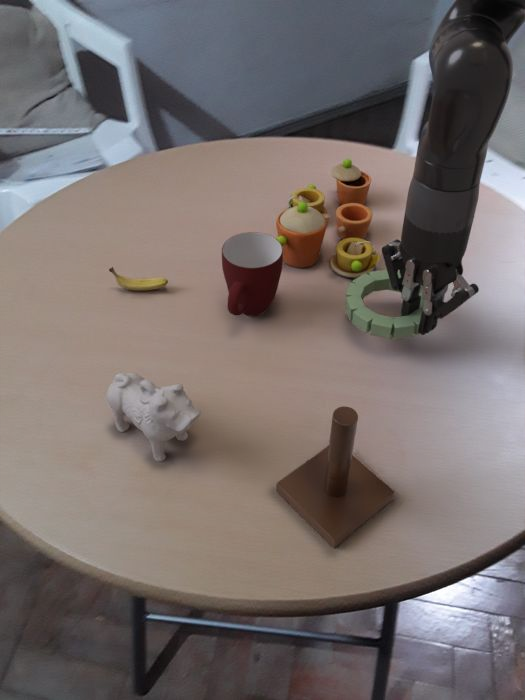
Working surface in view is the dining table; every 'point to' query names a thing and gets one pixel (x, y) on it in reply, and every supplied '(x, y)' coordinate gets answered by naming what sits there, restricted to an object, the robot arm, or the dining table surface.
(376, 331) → the ring
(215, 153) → the dining table surface
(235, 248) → the mug
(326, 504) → the holder
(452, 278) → the robot arm
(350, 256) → the toy tea set
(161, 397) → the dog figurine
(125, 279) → the banana
